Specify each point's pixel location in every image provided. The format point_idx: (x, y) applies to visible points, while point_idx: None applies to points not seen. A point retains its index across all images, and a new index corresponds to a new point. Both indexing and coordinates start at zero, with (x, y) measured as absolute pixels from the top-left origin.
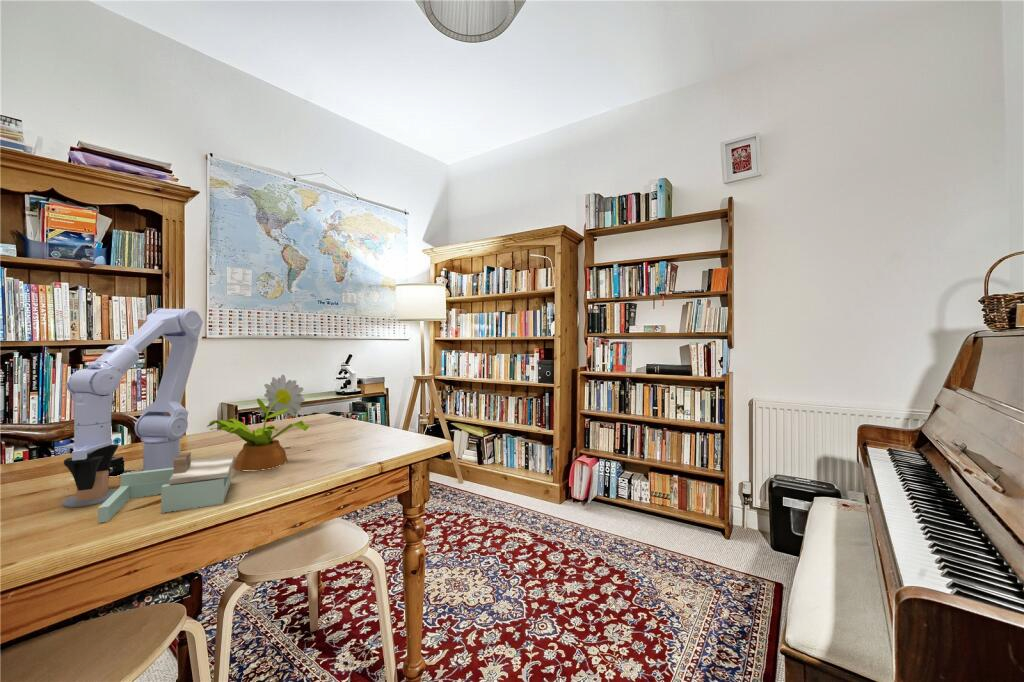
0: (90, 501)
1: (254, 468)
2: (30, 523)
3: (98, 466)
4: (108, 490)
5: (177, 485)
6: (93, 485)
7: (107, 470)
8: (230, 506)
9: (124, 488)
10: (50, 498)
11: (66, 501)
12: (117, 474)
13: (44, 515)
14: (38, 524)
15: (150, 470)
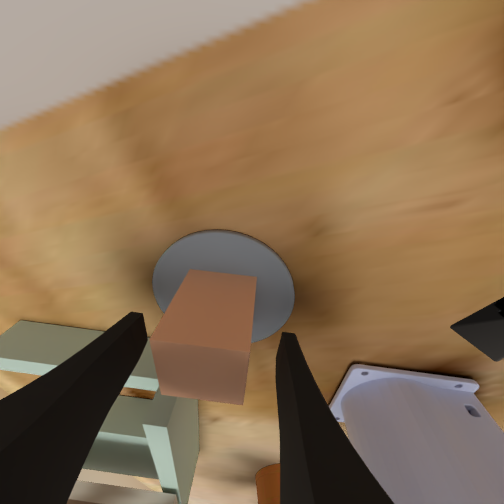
0: (171, 299)
1: (258, 478)
2: (38, 185)
3: (284, 402)
4: (266, 323)
5: None
6: (141, 350)
7: (240, 403)
8: None
9: (135, 385)
10: (325, 171)
11: (206, 243)
12: (494, 325)
13: (107, 204)
14: (26, 209)
15: (168, 460)
